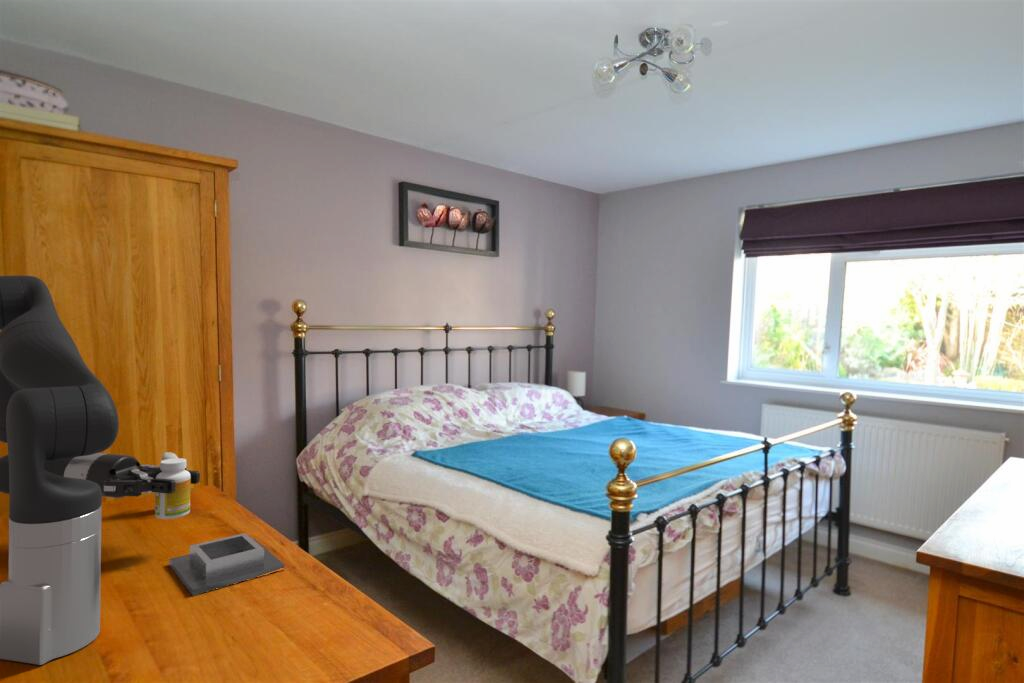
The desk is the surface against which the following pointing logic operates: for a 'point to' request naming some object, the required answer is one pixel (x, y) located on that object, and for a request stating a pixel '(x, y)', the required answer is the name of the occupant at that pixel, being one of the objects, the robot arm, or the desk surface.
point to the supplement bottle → (180, 499)
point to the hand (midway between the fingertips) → (186, 482)
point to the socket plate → (223, 563)
